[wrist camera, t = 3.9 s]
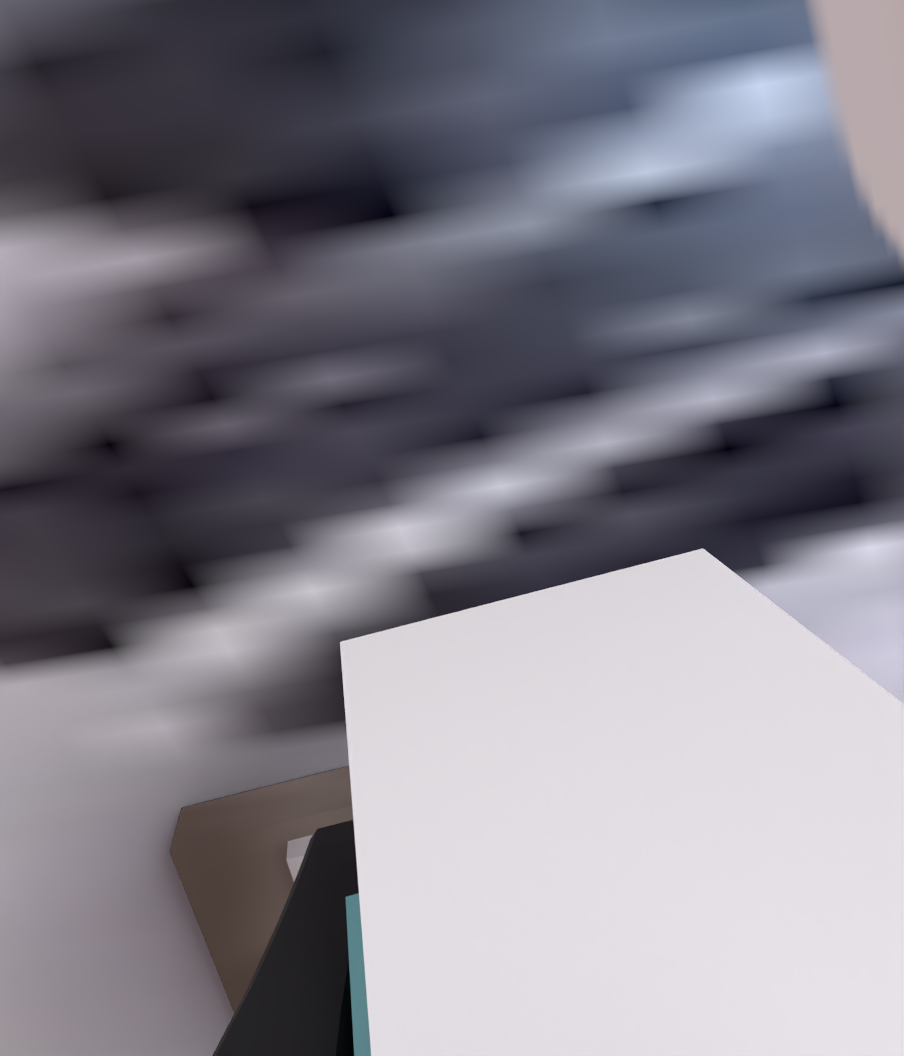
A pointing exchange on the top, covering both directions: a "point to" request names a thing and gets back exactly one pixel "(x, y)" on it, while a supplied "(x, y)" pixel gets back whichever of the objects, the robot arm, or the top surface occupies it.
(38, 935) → the top surface
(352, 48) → the top surface
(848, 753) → the block
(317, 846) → the robot arm
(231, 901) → the rail board
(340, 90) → the top surface
